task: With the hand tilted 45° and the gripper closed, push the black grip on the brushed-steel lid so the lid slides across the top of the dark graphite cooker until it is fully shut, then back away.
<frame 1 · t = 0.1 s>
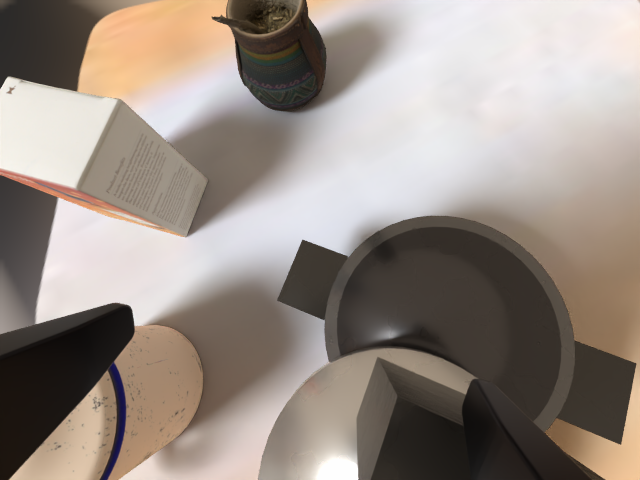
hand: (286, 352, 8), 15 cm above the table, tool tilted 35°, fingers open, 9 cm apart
mate gourd: (290, 91, 27), on the table
teacup with lid: (149, 403, 22), on the table
pot: (421, 324, 21), on the table
small box: (161, 199, 26), on the table
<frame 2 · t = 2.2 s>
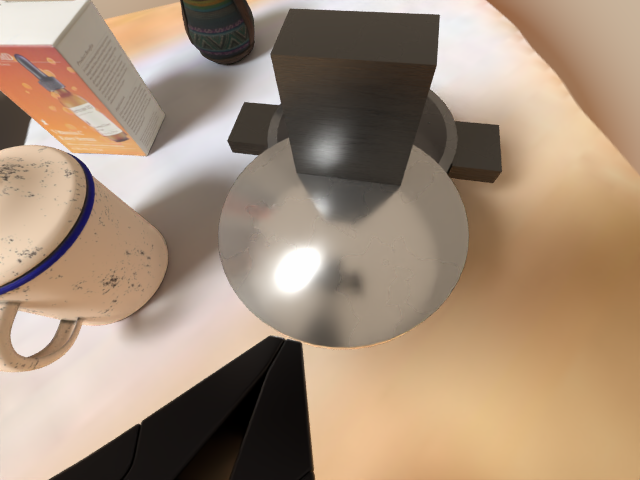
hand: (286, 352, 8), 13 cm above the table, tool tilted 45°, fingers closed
mate gourd: (230, 55, 35), on the table
teacup with lid: (113, 289, 23), on the table
pot: (356, 178, 26), on the table
lid: (339, 184, 13), point 10 cm above the table, slide at 8.0 cm
small box: (123, 136, 30), on the table
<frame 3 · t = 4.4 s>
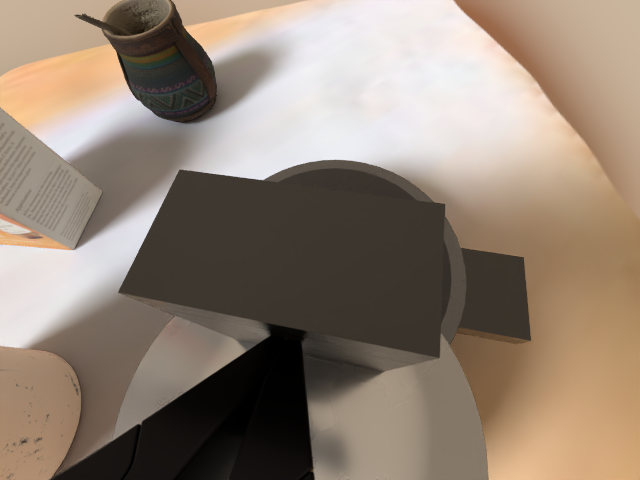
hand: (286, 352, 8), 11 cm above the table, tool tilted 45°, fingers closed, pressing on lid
mate gourd: (189, 108, 29), on the table
teacup with lid: (6, 457, 17), on the table
pot: (333, 291, 20), on the table
lid: (275, 443, 8), point 10 cm above the table, slide at 7.1 cm, touching gripper
small box: (49, 218, 24), on the table
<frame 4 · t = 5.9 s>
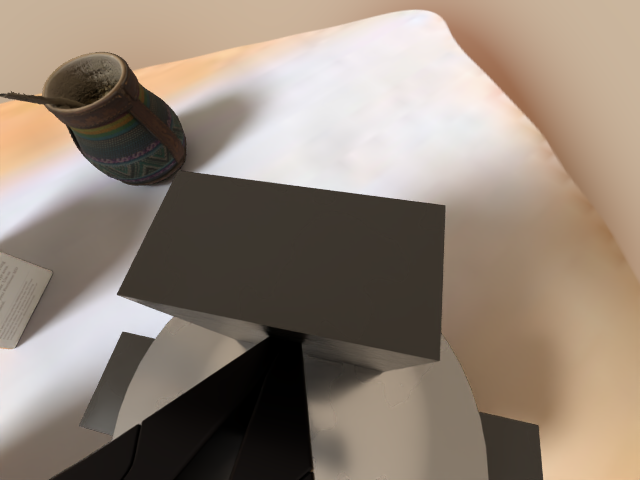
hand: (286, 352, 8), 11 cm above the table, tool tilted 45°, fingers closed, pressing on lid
mate gourd: (157, 166, 26), on the table
pot: (310, 413, 17), on the table
lid: (275, 444, 8), point 10 cm above the table, slide at -0.1 cm, touching gripper
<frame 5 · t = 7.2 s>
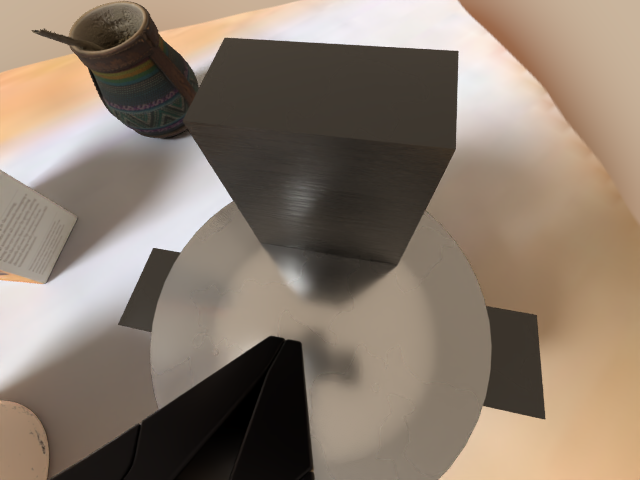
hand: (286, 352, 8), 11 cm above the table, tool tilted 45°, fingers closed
mate gourd: (172, 122, 27), on the table
pot: (324, 333, 18), on the table
lid: (306, 293, 9), point 10 cm above the table, slide at 0.0 cm
small box: (20, 246, 23), on the table
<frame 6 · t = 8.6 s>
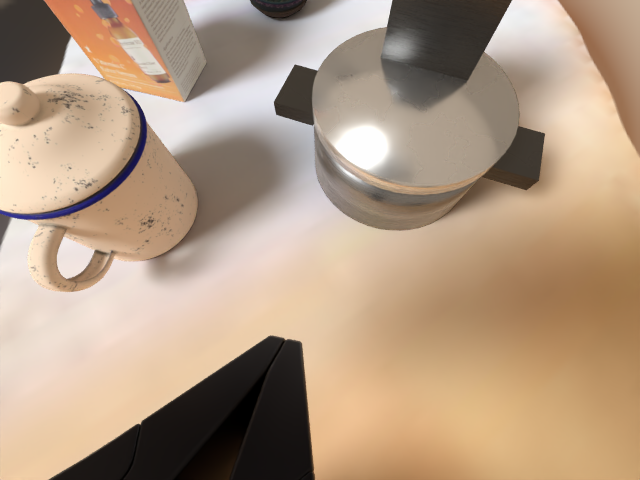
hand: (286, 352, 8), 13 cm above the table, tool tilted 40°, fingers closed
mate gourd: (279, 8, 33), on the table
teacup with lid: (142, 229, 24), on the table
pot: (390, 161, 26), on the table
lid: (430, 53, 16), point 10 cm above the table, slide at 0.0 cm
small box: (161, 76, 29), on the table
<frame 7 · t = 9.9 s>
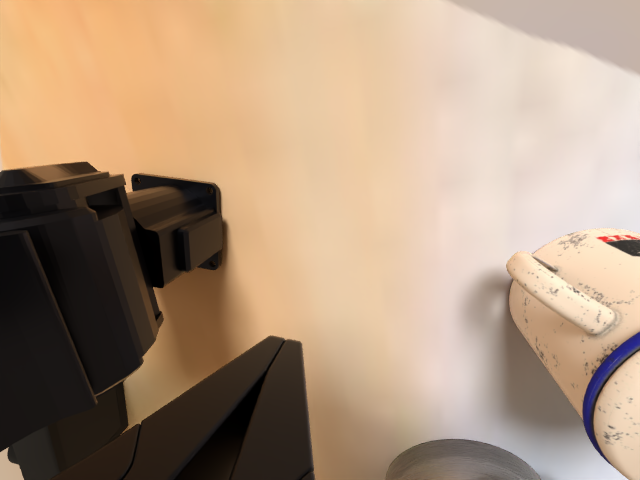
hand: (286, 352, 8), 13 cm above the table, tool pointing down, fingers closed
digital camera: (102, 380, 31), on the table
teacup with lid: (562, 279, 19), on the table
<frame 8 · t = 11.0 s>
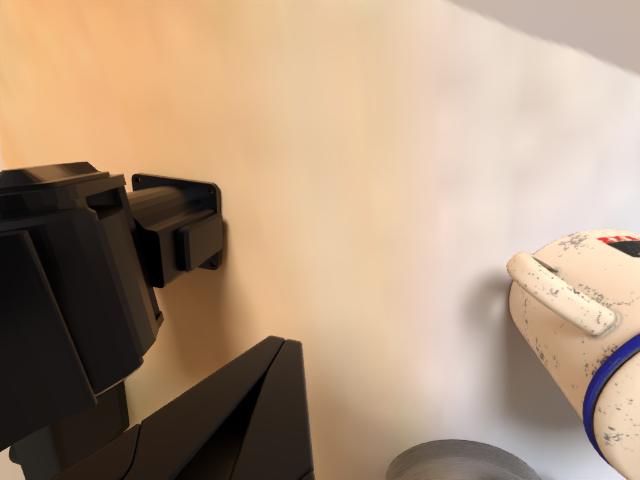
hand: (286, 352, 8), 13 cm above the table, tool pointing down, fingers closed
digital camera: (103, 380, 31), on the table
teacup with lid: (562, 280, 19), on the table
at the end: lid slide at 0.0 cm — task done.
